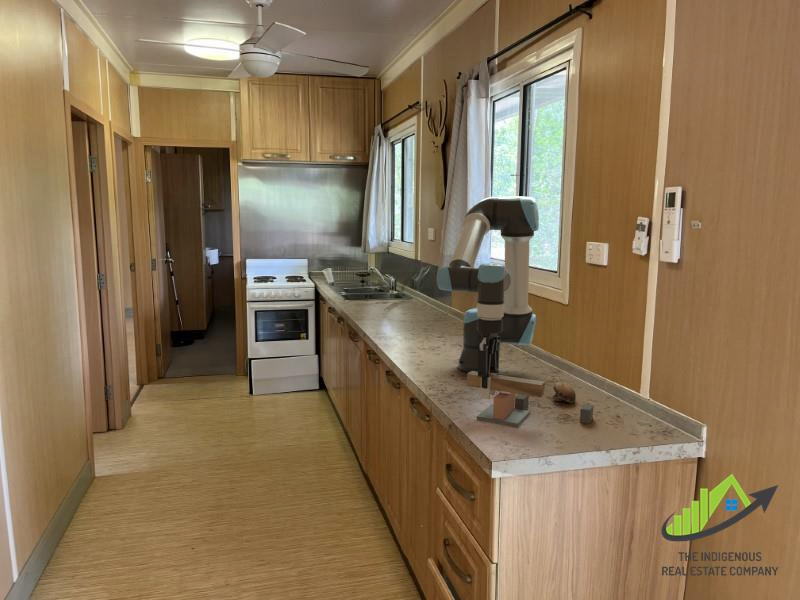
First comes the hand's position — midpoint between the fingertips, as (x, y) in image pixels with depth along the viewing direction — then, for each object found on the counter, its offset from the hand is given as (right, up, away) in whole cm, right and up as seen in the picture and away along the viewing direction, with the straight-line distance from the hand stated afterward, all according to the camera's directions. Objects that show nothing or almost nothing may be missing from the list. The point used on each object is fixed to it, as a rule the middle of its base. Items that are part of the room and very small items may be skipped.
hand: (487, 396), depth 166 cm
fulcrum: (+4, -6, -1) cm, 7 cm away
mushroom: (+26, -4, +13) cm, 29 cm away
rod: (+4, +2, -3) cm, 6 cm away
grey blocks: (+19, -5, +1) cm, 20 cm away
